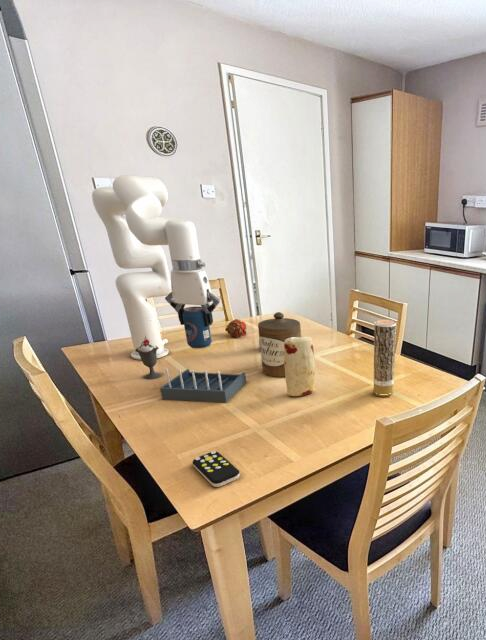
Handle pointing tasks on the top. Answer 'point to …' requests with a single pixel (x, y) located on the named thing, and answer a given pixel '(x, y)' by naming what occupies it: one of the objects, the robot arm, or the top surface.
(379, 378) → the wooden log
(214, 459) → the remote control
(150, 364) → the sundae
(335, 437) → the top surface
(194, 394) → the dish rack
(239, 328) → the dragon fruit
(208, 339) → the soda can
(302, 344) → the food model
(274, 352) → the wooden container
